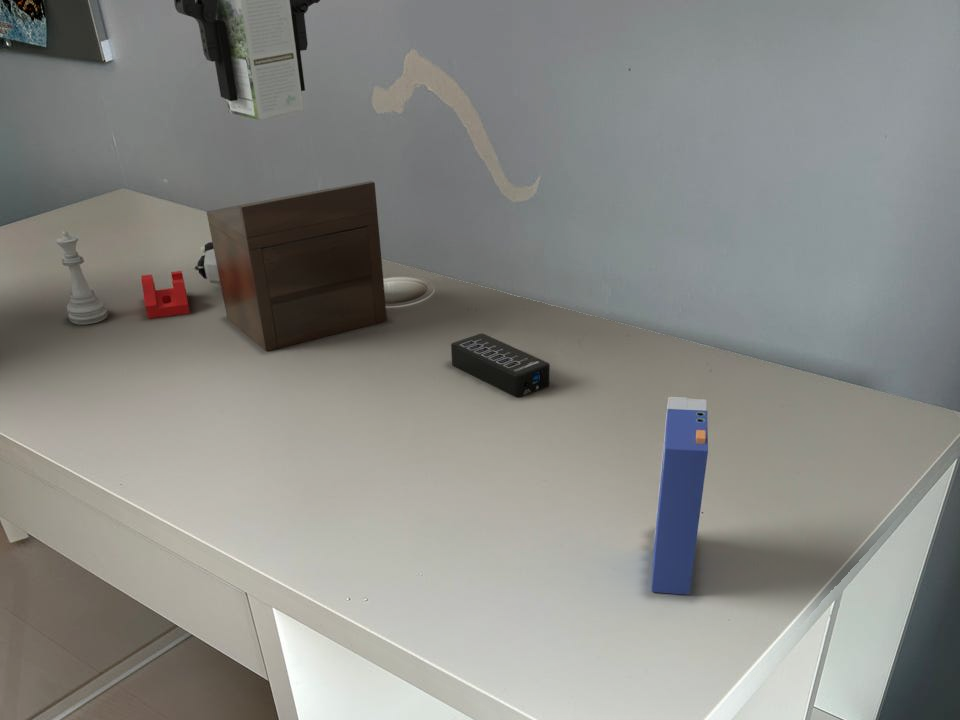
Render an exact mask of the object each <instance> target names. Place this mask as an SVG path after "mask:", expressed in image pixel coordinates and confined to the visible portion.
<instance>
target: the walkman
mask: <svg viewBox="0 0 960 720" xmlns="http://www.w3.org/2000/svg"><path fill="white" fill-rule="evenodd" d="M666 405H667V407H666V415H665V424H664V436H663V446H662V456H661V465H660V475H659V487H658V497H657V506H656V517H655V527H654V540H653V554H652V555H653V557H652V572H651V573H652V575H651V592H652V593H661V594H676V595H690V593H691V586H692V578H693V572H694V571H693V570H694V562H695V554H696V548H697V547H696V546H697V539H698V531H699V525H700V524H699V523H700V516H701V509H702V500H703V493H704V485H705V478H706V469H707V462H708V455H709V436H708V434H709V433H708V431H709V430H708V429H709V428H708V427H709V426H708V407H707V405H708V403H707V399H705V398H704V399H703V398H702V399H701V398H700V399H699V398H688V397H685V396H683V397H680V396H669V397H668V398H667V404H666Z"/></svg>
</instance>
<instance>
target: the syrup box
mask: <svg viewBox="0 0 960 720" xmlns="http://www.w3.org/2000/svg"><path fill="white" fill-rule="evenodd" d="M215 19H216V20H219V21H223V22H225V25H226V31H227V37H228V43H229V49H230V55H231V62H232V68H233V74H234V80H235V86H236V92H237V98H238V100H235V101H229V100H227V99H225V100H226V106H227V111H228V114H232V115H236V116H241V117H243V118H244V117H245V118H249V119H252V120H258V121H265V120H273V119H279V118H285V117H288V116H292V115H298V114H302V113H304V110H305V109H304V102H303V95H302V91H301V86H300V78H299V70H298V62H297V55H296V47H295V39H294V32H293V24H292V16H291V8H290V0H218V3H217V12H216V18H215Z"/></svg>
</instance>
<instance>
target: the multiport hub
mask: <svg viewBox="0 0 960 720" xmlns="http://www.w3.org/2000/svg"><path fill="white" fill-rule="evenodd" d="M450 352H451V366H452V367H455V368H456V369H458V370H460V371H462V372H465V373H466V374H468V375H470V376H473V377H475V378H477V379H478V380H481V381H483V382H485V383H486V384H489V385H491V386H493V387H495V388H496V389H498V390H501V391H502V392H505V393H506V394H508V395H510V396H512V397H514V398H523V397H525V396H527V395H530V394H532V393H534V392H537V391H540V390H543V389H545V388H548V387H550V370H551V369H550V362H547V361H545V360H543V359H541V358H539V357H537V356H535V355H532V354H529V353H528V352H525V351H523V350H521V349H518V348H517V347H515V346H512V345H510V344H507V343H505V342H504V341H501V340H498V339H497V338H494V337H492V336H490V335H487V334H486V333H478V334H474V335H472V336H469V337H465V338H463V339H460V340H457V341H454V342H452V343H450Z"/></svg>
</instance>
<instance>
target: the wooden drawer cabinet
mask: <svg viewBox="0 0 960 720" xmlns="http://www.w3.org/2000/svg"><path fill="white" fill-rule="evenodd" d="M376 192H377V191H376V183H375V182H374V181H373V180H369V181H363V182H358V183H352V184H347V185H341V186H336V187H332V188H331V187H329V188H324V189H318V190H314V191H307V192H302V193H297V194H293V195H287V196H286V195H285V196H281V197H275V198H271V199H265V200H260V201H254V202H249V203H244V204H239V205H234V206H227V207H221V208H216V209H212V210H211V209H210V210H206V218H207V221H208V226H209V232H210V237H211V242H212V243H213V248H214V253H215V258H216V263H217V268H218V274H219V279H220V284H221V286H220V289H221V293H222V299H223V303H224V310H225V314H226V318H227V319H228V321H230V322H231V323H232V324H234V325H235V326H236V327H237V328H238V329H239V330H241V331H242V332H243V333H244V334H245V335H246V336H247V337H249V338H250V339H251V340H252V341H253V342H255V343H256V344H257V345H258V346H259V347H261V348H262V349H263V350H264V351H265V352H269V351H273V350H276V349H281V348H285V347H288V346H293V345H296V344H300V343H305V342H308V341H313V340H317V339H320V338H325V337H328V336H332V335H336V334H340V333H344V332H348V331H353V330H356V329H361V328H364V327H367V326H372V325H376V324H380V323H385V322H387V321H388V317H387V316H388V315H387V305H386V294H385V282H384V274H383V273H384V271H383V261H382V250H381V249H382V248H381V236H380V226H379V218H378V217H379V215H378V205H377V203H378V202H377V193H376Z"/></svg>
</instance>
